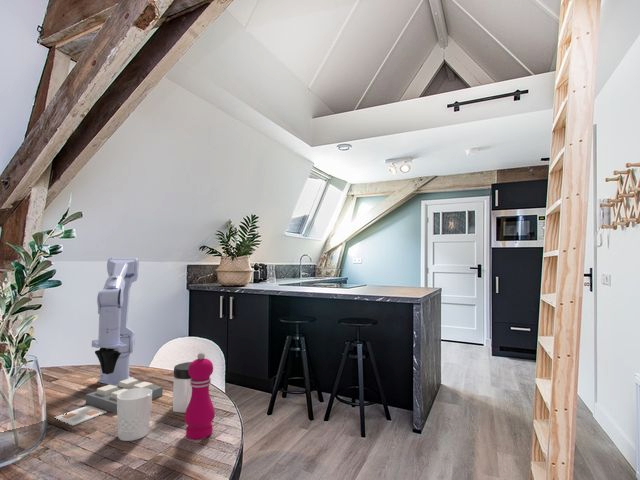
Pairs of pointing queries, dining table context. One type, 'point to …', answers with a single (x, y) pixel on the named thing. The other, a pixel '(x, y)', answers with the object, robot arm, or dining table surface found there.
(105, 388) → the button
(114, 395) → the button
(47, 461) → the dining table surface
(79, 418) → the card
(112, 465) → the dining table surface
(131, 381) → the button
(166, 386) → the dining table surface
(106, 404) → the button board
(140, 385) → the button
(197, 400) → the pepper mill
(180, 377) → the jar
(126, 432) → the white cup
